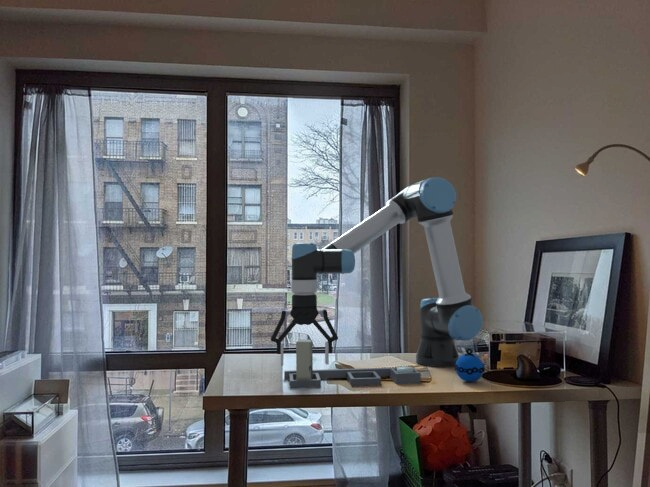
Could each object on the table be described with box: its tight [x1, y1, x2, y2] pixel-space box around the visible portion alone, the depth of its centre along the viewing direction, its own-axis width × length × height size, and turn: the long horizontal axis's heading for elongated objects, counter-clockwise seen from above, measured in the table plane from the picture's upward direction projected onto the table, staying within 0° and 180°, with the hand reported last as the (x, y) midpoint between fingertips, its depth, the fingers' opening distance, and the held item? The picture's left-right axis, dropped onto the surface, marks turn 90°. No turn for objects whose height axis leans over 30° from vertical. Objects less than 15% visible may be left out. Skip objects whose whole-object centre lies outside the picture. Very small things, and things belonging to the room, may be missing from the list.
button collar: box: [389, 366, 422, 385], centre depth 150 cm, size 8×8×3 cm
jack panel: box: [283, 367, 391, 389], centre depth 149 cm, size 38×11×2 cm, turn 96°
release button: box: [396, 365, 413, 373], centre depth 150 cm, size 5×5×2 cm
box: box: [295, 338, 314, 380], centre depth 147 cm, size 5×4×13 cm
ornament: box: [454, 348, 485, 383], centre depth 148 cm, size 9×9×10 cm
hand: (304, 364), depth 147 cm, fingers open, 13 cm apart
